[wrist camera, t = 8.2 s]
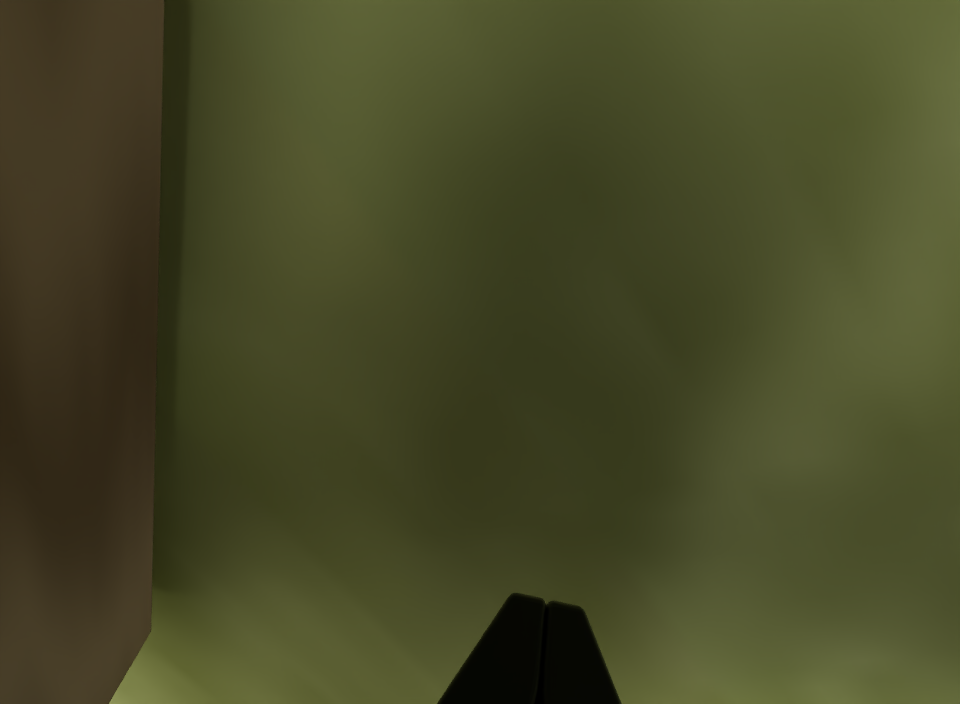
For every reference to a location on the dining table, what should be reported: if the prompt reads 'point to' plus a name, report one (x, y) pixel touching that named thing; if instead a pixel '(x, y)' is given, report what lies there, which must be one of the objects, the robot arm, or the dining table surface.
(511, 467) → the dining table surface
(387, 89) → the dining table surface
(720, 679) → the dining table surface
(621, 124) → the dining table surface
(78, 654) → the brown wooden plank
